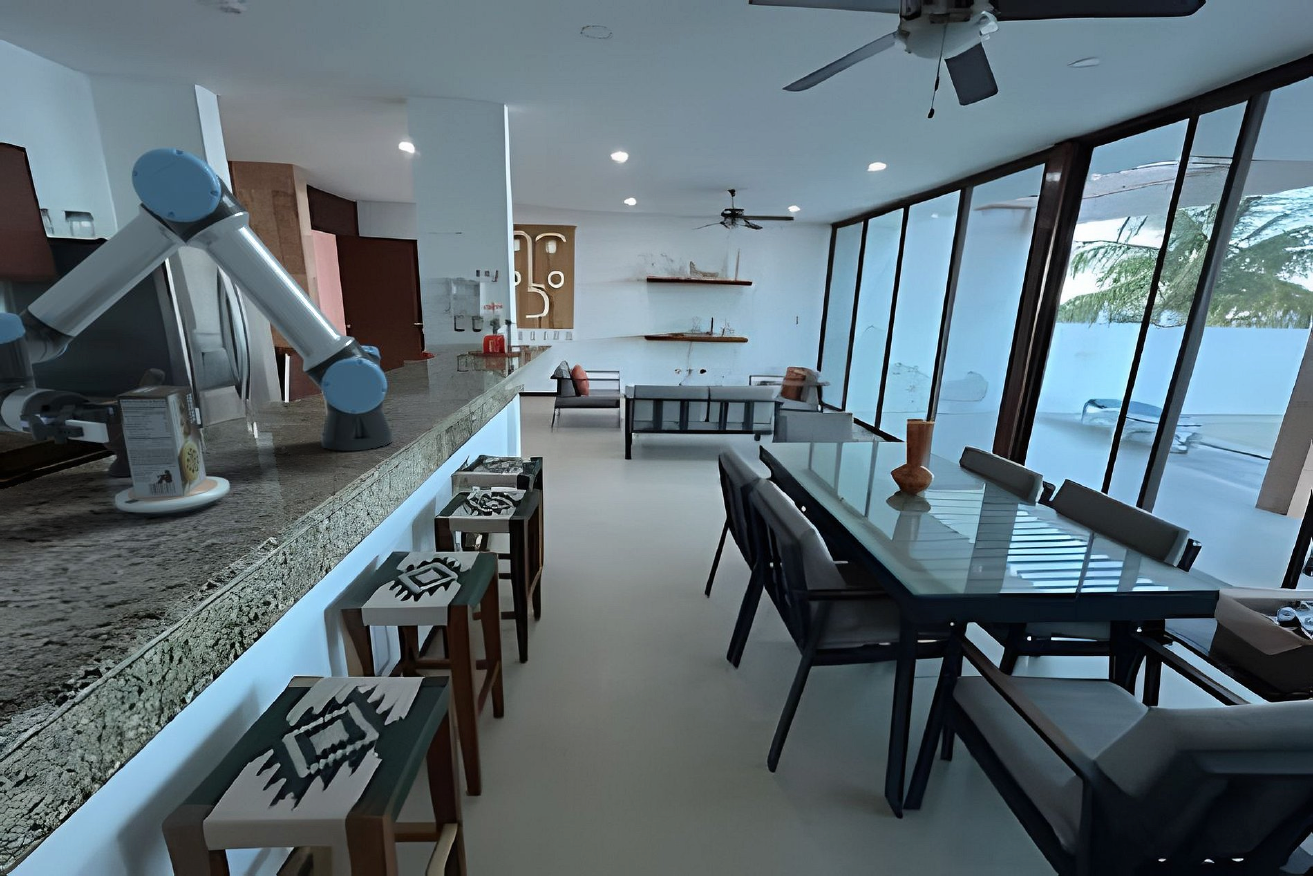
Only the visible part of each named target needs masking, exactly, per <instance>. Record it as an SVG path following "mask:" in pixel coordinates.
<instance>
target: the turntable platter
mask: <svg viewBox="0 0 1313 876" xmlns="http://www.w3.org/2000/svg"><path fill="white" fill-rule="evenodd" d="M230 491H231V487H230V481H229V480H227V479H226V478H223V477H219V476H207V475H206V479H204V480H203V481H202V482H201V483H200V484H198V485H197V486H196V487H195V488H193V489H192V490H191V491H190V492H189V493H187V494H186V495H185V496H175V497H158V498H141V499H136V497H135V492H134V487H133V486H132V487H129V488H127V489H124V490H122V491H120V492H119V493H117V494H116V495H115V497H114V503H115V507H116V508H117V509H118V510H120V511H124V512H128V513H129V512H130V513H136V512H159V511H169V510H176V509H182V508H187V507H192V506H197V505H201V504H204V503H208V502H211V501H214V500H216V501H217V500H219V499H221V498H223V497H225V496H226V495H227V494H229V493H230Z"/></svg>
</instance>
